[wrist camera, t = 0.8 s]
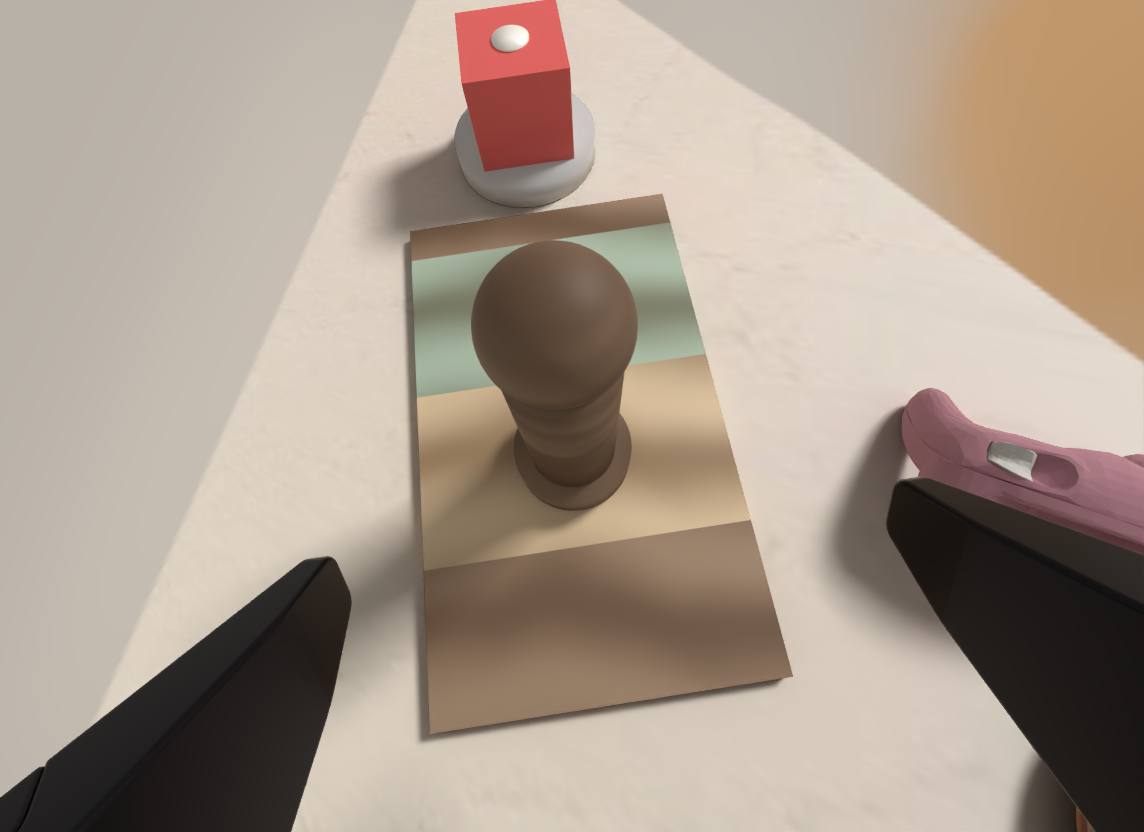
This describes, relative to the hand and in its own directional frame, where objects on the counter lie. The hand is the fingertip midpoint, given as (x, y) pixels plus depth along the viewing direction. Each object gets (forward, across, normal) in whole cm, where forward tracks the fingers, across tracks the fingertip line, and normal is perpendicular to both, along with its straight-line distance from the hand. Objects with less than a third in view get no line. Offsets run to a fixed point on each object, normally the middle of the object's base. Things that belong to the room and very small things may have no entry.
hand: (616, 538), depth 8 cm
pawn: (+13, +1, +6) cm, 15 cm away
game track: (+15, +1, +6) cm, 16 cm away
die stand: (+28, +1, -6) cm, 28 cm away
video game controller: (+11, -18, +10) cm, 23 cm away
